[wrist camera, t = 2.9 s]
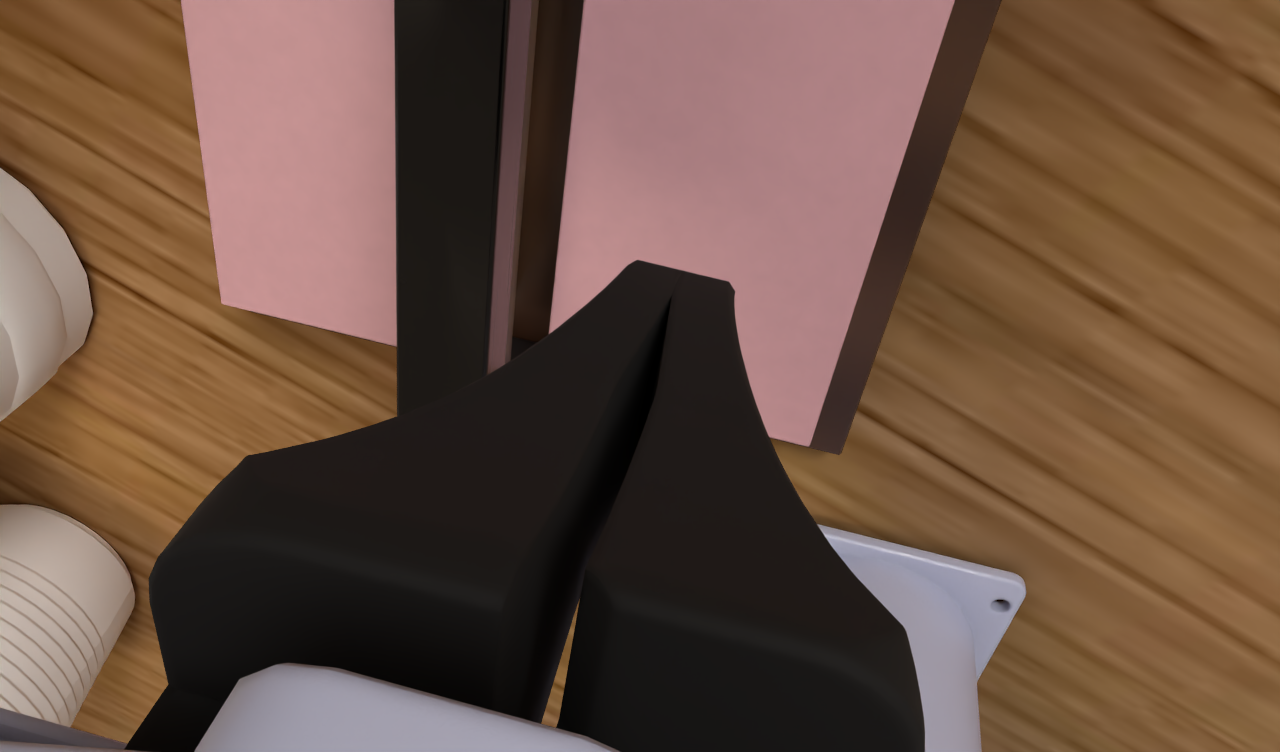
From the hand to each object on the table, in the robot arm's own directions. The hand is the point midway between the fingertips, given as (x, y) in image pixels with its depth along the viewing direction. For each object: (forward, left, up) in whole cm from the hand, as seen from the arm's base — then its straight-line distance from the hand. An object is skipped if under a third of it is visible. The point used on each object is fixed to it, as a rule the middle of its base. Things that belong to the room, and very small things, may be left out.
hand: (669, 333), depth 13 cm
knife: (0, +4, -6) cm, 7 cm away
